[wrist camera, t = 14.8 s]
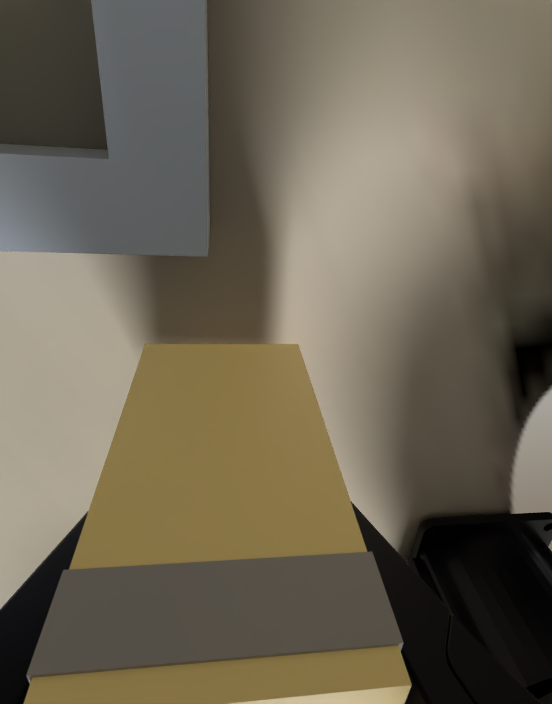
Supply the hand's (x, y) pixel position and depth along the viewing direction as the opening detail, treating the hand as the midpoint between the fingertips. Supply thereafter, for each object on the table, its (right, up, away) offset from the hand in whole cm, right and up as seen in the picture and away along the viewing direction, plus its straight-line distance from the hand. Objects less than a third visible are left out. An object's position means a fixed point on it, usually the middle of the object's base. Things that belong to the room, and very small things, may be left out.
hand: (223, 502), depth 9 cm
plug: (0, +2, +3) cm, 4 cm away
